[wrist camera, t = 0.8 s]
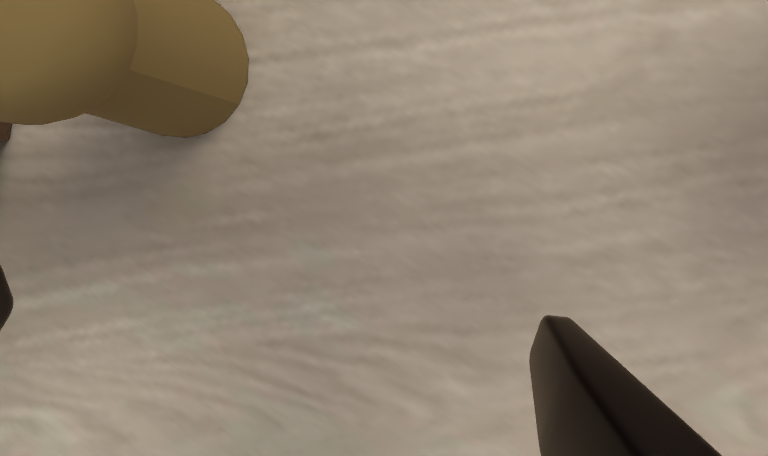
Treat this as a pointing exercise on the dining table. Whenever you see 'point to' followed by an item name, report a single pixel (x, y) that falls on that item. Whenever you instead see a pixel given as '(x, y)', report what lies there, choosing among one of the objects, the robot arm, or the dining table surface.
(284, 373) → the dining table surface
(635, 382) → the robot arm
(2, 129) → the wooden stand
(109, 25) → the tan rounded tall piece
